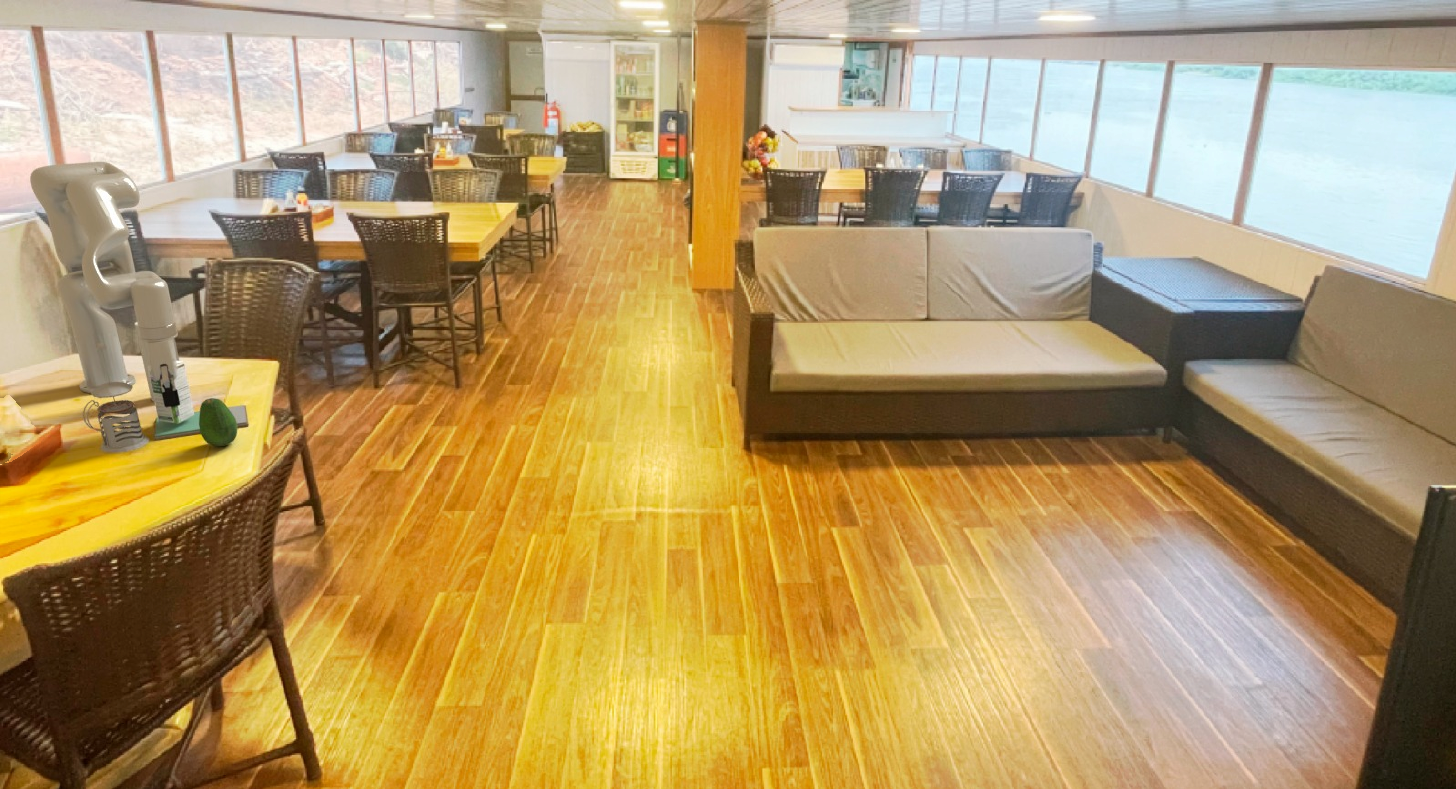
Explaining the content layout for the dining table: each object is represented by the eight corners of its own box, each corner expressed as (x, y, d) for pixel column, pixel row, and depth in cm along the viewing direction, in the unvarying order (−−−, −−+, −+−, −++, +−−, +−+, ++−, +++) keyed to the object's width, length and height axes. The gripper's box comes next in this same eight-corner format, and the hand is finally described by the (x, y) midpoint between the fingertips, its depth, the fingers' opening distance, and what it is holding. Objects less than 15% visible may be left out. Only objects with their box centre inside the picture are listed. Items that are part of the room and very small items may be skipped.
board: (156, 420, 226) (155, 416, 225) (245, 407, 235) (245, 404, 234) (154, 440, 215) (153, 436, 215) (248, 426, 224) (247, 422, 224)
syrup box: (157, 421, 220) (145, 365, 214) (175, 412, 225) (164, 357, 220) (178, 424, 219) (166, 368, 213) (196, 414, 224) (184, 360, 219)
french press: (157, 441, 215) (135, 341, 205) (105, 459, 205) (79, 355, 196) (135, 431, 219) (112, 333, 210) (83, 448, 210) (56, 347, 201)
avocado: (199, 443, 214) (190, 397, 210) (236, 435, 219) (227, 389, 214) (207, 455, 209) (197, 408, 204) (244, 447, 213) (236, 400, 209)
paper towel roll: (146, 401, 237) (128, 323, 229) (166, 393, 242) (149, 316, 234) (167, 405, 235) (150, 326, 226) (187, 397, 240) (171, 320, 232)
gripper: (141, 322, 219) (156, 389, 225) (137, 344, 205) (153, 415, 211) (177, 318, 222) (190, 385, 229) (176, 340, 208) (190, 410, 215)
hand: (172, 399), depth 220 cm, fingers closed on syrup box, 8 cm apart
